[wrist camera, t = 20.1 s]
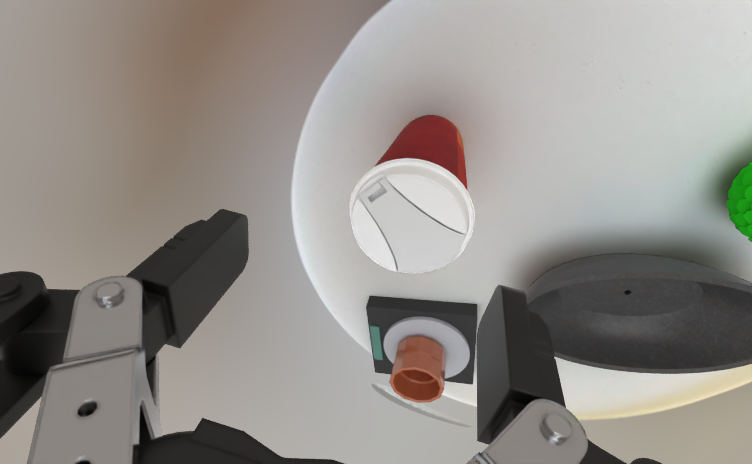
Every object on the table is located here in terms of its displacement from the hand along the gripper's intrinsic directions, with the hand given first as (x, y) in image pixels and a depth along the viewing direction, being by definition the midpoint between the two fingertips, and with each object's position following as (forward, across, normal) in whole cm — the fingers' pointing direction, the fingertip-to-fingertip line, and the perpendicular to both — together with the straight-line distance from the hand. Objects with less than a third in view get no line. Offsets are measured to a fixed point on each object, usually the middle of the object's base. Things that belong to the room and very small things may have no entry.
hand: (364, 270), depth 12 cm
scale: (+26, -6, +30) cm, 40 cm away
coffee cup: (+26, -1, +5) cm, 27 cm away
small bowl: (+23, -6, +30) cm, 38 cm away
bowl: (+26, -24, +14) cm, 38 cm away
